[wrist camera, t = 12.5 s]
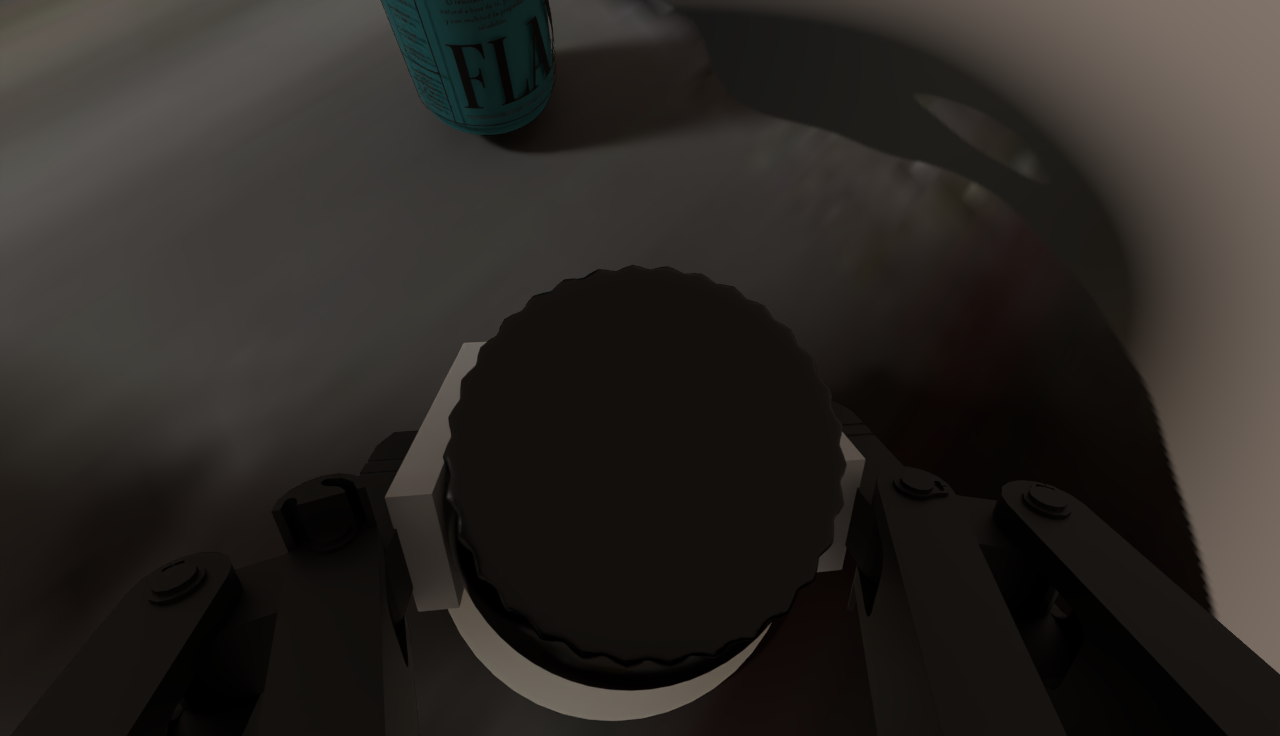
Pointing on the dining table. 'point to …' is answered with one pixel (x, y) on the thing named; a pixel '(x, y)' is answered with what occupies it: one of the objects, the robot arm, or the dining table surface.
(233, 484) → the dining table surface
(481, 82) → the beverage bottle
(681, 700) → the plate
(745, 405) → the supplement bottle
